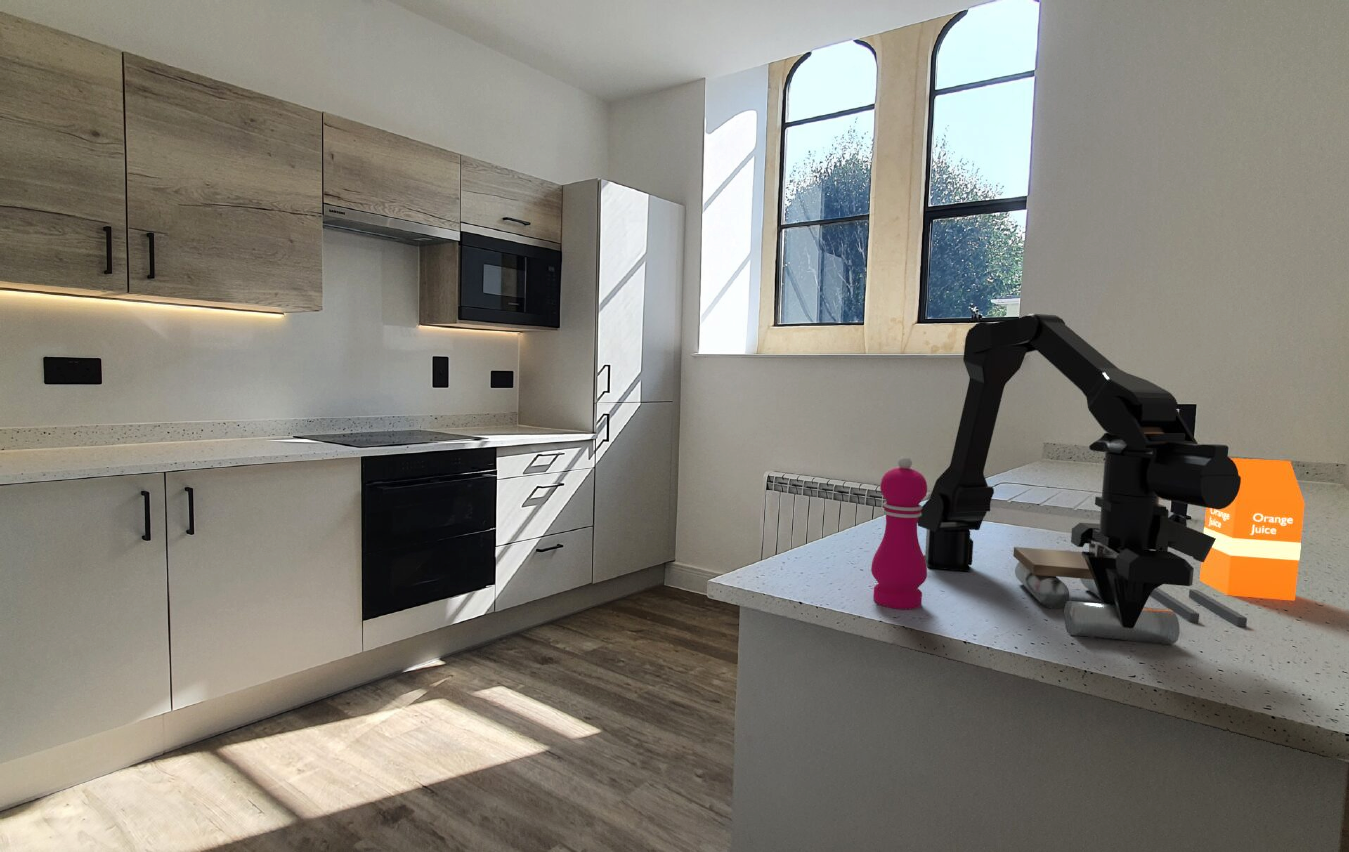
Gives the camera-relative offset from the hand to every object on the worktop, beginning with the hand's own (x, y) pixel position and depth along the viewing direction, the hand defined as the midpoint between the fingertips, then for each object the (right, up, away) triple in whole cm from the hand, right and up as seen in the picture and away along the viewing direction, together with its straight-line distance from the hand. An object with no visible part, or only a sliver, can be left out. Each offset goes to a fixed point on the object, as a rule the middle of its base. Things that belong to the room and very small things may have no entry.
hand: (1120, 621), depth 84 cm
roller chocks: (+18, -2, +12) cm, 21 cm away
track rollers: (+3, -1, +15) cm, 15 cm away
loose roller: (0, 0, 0) cm, 0 cm away
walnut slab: (+3, +3, +15) cm, 15 cm away
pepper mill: (-23, -1, +11) cm, 26 cm away
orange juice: (+33, -2, +22) cm, 40 cm away
